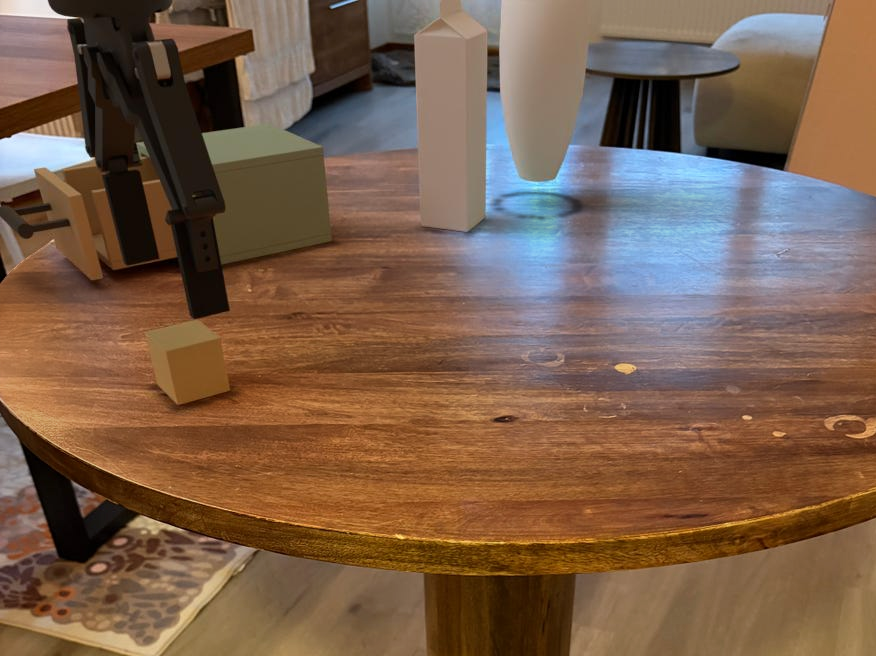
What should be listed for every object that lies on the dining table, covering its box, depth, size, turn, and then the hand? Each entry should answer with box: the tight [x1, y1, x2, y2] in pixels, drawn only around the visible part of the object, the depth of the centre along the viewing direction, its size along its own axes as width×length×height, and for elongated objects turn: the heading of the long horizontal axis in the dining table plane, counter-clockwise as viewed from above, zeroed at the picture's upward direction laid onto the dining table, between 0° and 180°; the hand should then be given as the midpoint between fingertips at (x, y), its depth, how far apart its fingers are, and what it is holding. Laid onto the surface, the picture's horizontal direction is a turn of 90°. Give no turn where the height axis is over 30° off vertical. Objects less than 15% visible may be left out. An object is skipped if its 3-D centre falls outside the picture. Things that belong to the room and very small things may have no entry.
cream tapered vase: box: [498, 0, 591, 183], centre depth 107 cm, size 10×10×22 cm
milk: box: [413, 0, 488, 233], centre depth 101 cm, size 6×6×22 cm
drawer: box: [0, 156, 178, 281], centre depth 94 cm, size 19×11×8 cm, turn 126°
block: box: [144, 318, 231, 406], centre depth 74 cm, size 4×4×4 cm
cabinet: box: [135, 123, 333, 265], centre depth 100 cm, size 16×13×10 cm
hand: (174, 286), depth 70 cm, fingers open, 13 cm apart
